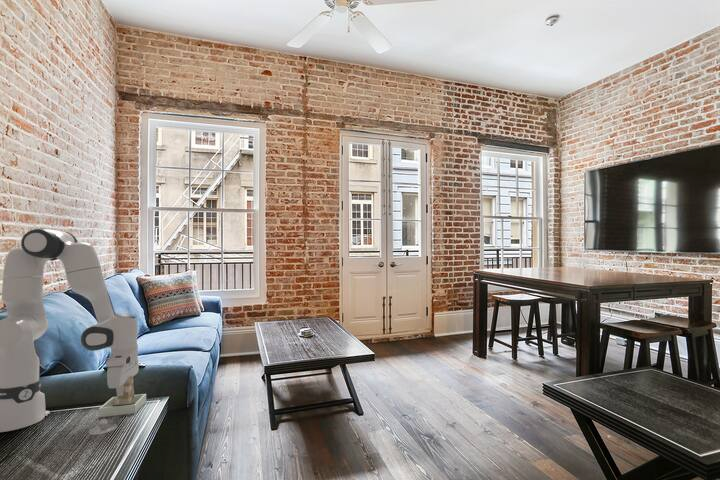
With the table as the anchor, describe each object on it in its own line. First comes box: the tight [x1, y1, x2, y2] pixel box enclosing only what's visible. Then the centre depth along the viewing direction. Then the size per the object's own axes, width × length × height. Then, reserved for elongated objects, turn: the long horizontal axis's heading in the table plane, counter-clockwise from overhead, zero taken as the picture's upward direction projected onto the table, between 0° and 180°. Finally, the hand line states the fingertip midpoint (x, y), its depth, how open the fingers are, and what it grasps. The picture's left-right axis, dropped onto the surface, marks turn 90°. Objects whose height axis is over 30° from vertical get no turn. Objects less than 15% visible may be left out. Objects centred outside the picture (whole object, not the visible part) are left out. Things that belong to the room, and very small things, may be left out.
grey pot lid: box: [88, 418, 119, 436], centre depth 123 cm, size 8×8×4 cm
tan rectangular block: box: [115, 375, 135, 406], centre depth 141 cm, size 4×4×9 cm
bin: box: [98, 393, 147, 418], centre depth 140 cm, size 12×12×4 cm
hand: (124, 392), depth 140 cm, fingers closed on tan rectangular block, 4 cm apart
